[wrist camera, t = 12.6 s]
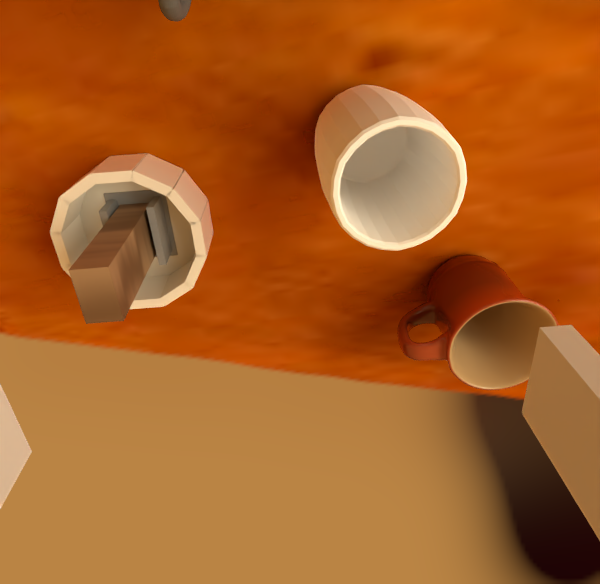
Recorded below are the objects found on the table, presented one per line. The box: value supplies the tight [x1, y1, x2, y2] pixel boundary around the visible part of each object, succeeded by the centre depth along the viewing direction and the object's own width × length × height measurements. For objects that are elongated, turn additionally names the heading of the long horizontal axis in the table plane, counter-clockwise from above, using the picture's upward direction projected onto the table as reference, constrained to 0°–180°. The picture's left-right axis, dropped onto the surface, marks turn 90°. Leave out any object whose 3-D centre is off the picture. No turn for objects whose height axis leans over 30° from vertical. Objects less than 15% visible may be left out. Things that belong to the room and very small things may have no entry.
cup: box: [315, 85, 467, 251], centre depth 34 cm, size 8×8×14 cm
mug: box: [398, 255, 559, 390], centre depth 44 cm, size 12×9×10 cm
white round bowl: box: [50, 153, 213, 309], centre depth 41 cm, size 12×12×5 cm
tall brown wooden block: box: [69, 203, 156, 324], centre depth 37 cm, size 4×2×12 cm, turn 4°
